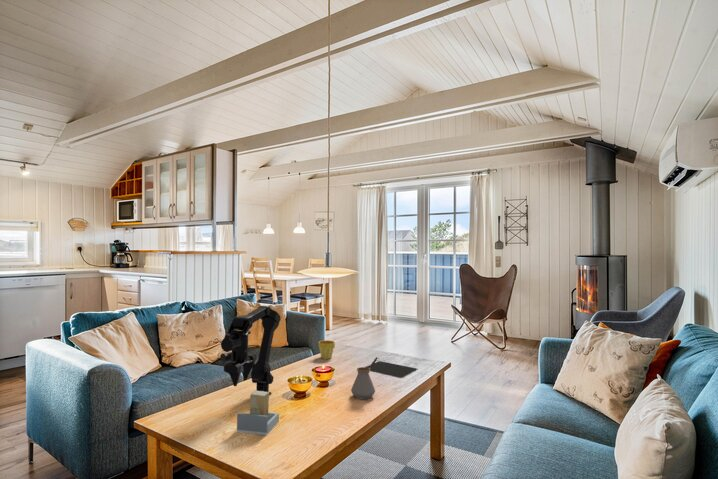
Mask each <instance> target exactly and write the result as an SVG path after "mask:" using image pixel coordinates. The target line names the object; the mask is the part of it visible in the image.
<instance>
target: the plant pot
mask: <svg viewBox="0 0 718 479" xmlns="http://www.w3.org/2000/svg"><path fill="white" fill-rule="evenodd" d="M335 344H336V343H335V341H333V340H325V339H323V340H319V341H318V348H319V353H320V358H321V359H324V360H326V359H327V360H328V359H329V358H330V359H331V358H333V357H332V356H333V352H334V349H335V347H336V346H335Z"/></svg>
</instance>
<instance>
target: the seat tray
mask: <svg viewBox="0 0 718 479" xmlns="http://www.w3.org/2000/svg"><path fill="white" fill-rule="evenodd" d="M236 415H237V416H236V433H240V432H242V433H244V434H249V433H250V435H259V436H268V435H269V433H270V432H271V431H272V430H273V429H274V428H275V427H276V425H277V424H279V423H280V422H279V421H280V413H279V412H275V411H274V412H271V411H268V416H267V415H257V414H250V411H249V412H248V413H246V412H237V414H236ZM274 426H275V427H274ZM242 433H241V434H242Z"/></svg>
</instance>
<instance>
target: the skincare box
mask: <svg viewBox="0 0 718 479" xmlns="http://www.w3.org/2000/svg"><path fill="white" fill-rule="evenodd" d="M269 392H270V391H269ZM269 392H264V391H256V389H255V390H254V391H252V392H251V393H250V400H249V412H250V414H257V415H267V416H268V412H269V409H270V407H269V406H270V404H269V403H270V402H269V401H270V395H269Z"/></svg>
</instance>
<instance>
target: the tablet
mask: <svg viewBox="0 0 718 479" xmlns="http://www.w3.org/2000/svg"><path fill="white" fill-rule="evenodd" d="M370 365H371V364H369V365H367V366H365V367H366V368H369V367H370ZM418 369H419V368H417V367H411V366H406V365H401V364H396V363H392V362H386V361H381V360H379V361H376V362H375V364H374V365H373V366H372V368H371V369H370V372H373V373H376V374H377V373H378V374H381V375H386V376H391V377H394V378H397V379H398V378H399V379H403V378H406V377H407V376H409V375H411V374H412V372H413V373H414V372H417V371H418ZM416 370H417V371H416Z"/></svg>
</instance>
